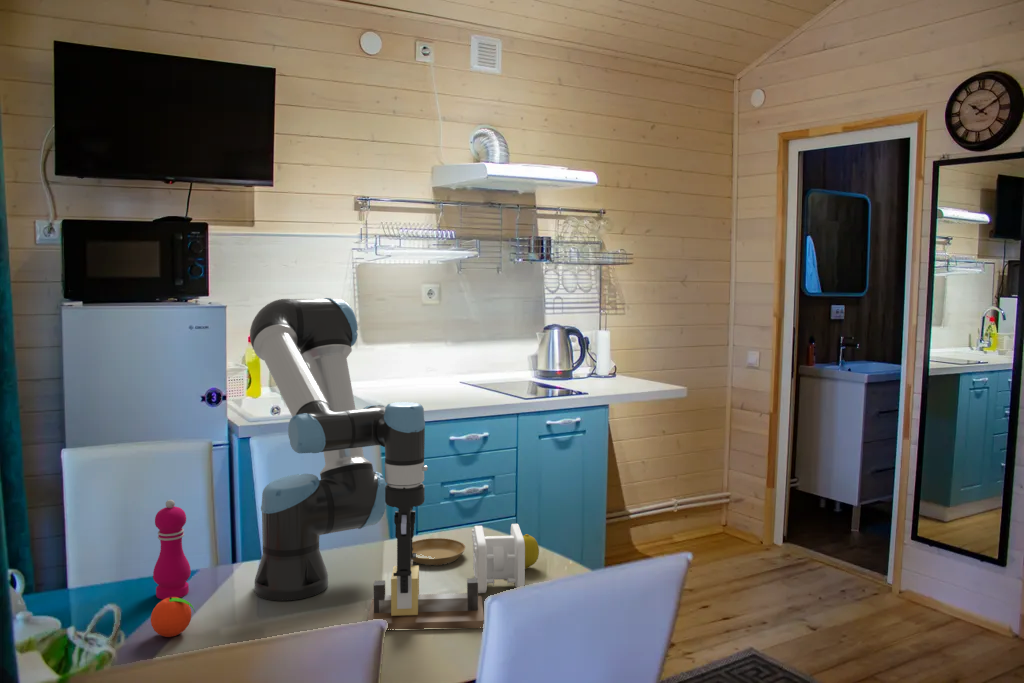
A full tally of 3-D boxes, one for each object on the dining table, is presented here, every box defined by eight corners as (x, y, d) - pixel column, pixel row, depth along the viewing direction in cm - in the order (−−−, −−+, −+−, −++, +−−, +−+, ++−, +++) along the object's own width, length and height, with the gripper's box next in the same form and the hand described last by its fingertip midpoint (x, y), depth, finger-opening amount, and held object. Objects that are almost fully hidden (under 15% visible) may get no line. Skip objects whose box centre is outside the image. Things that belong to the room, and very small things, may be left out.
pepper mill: (147, 594, 166) (145, 499, 164) (181, 584, 171) (179, 493, 170) (162, 603, 161) (160, 506, 159) (197, 593, 166) (195, 499, 165)
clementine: (203, 627, 150) (203, 590, 149) (187, 644, 143) (186, 605, 143) (162, 626, 150) (161, 590, 150) (143, 643, 143) (142, 604, 143)
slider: (391, 615, 151) (391, 579, 151) (393, 601, 158) (393, 566, 158) (417, 614, 152) (417, 578, 151) (419, 600, 159) (419, 565, 158)
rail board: (366, 631, 148) (365, 595, 148) (372, 605, 160) (371, 571, 160) (484, 628, 150) (484, 592, 150) (481, 602, 162) (481, 569, 162)
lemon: (543, 567, 183) (543, 533, 182) (530, 574, 178) (530, 539, 178) (523, 562, 186) (523, 529, 185) (509, 569, 181) (509, 535, 181)
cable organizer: (525, 597, 165) (526, 542, 165) (475, 599, 164) (475, 544, 163) (518, 571, 180) (518, 521, 179) (471, 572, 179) (471, 522, 178)
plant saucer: (427, 574, 179) (427, 562, 179) (390, 557, 190) (390, 546, 189) (478, 559, 189) (478, 548, 189) (440, 544, 200) (440, 534, 199)
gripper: (423, 496, 144) (423, 620, 145) (425, 471, 163) (425, 580, 165) (381, 497, 143) (382, 622, 144) (388, 471, 163) (388, 581, 164)
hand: (405, 599), depth 155 cm, fingers closed on slider, 7 cm apart
